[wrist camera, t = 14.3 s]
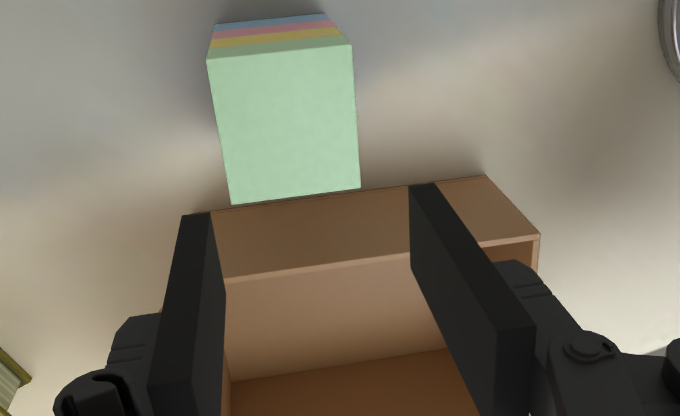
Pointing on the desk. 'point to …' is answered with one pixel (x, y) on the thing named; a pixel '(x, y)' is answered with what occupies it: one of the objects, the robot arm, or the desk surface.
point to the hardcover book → (10, 381)
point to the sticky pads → (284, 107)
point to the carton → (346, 303)
